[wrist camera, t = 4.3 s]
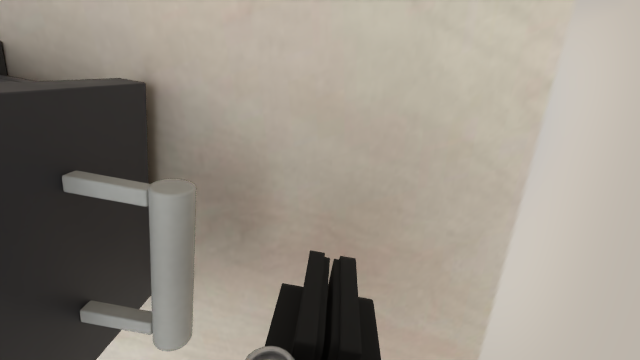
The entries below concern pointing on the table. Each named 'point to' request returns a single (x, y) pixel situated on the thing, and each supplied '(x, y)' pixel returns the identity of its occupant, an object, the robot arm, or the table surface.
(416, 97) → the table surface
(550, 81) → the table surface
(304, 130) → the table surface
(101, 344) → the drawer
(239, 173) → the table surface
